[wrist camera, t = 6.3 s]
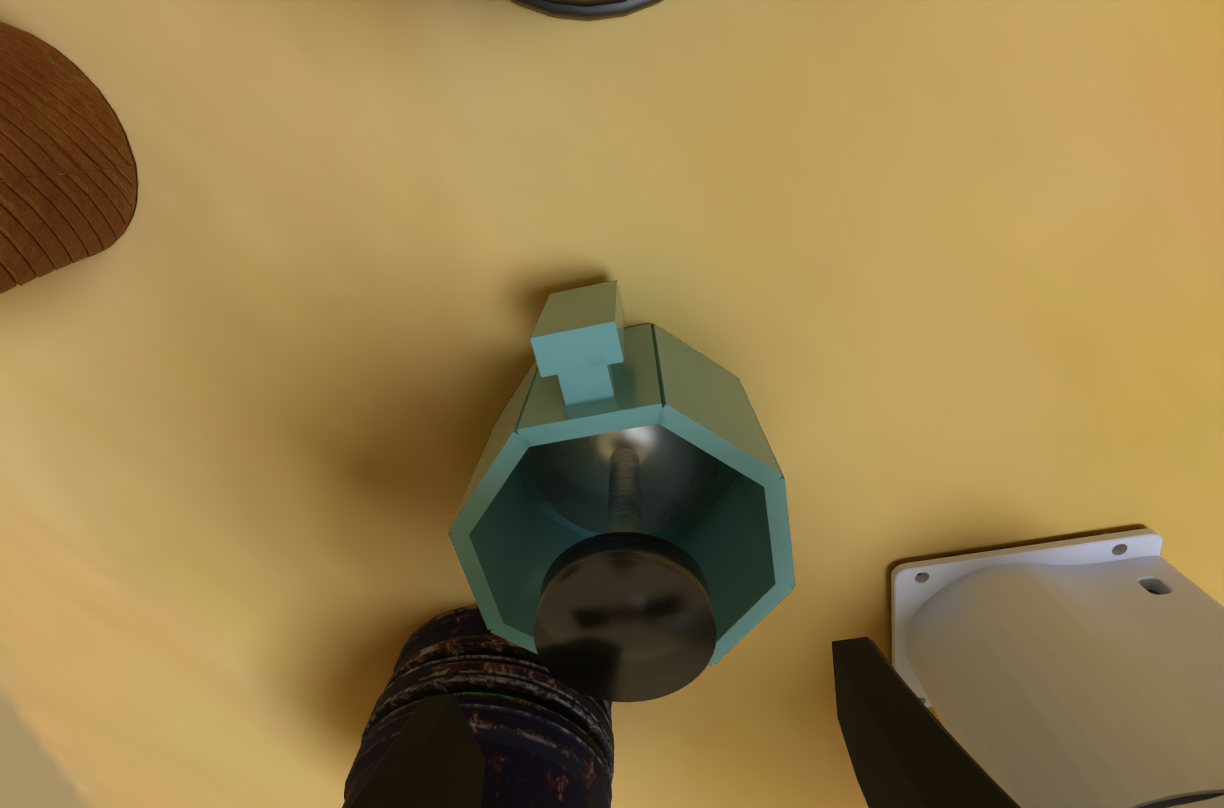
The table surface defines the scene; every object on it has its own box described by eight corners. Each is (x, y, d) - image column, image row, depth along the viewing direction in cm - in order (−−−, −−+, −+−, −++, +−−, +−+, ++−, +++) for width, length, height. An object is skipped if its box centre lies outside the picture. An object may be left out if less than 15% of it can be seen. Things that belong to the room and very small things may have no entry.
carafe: (723, 248, 17) (767, 302, 12) (757, 523, 22) (802, 653, 16) (455, 304, 18) (385, 377, 13) (539, 557, 23) (512, 691, 17)
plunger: (704, 350, 18) (756, 496, 11) (729, 514, 21) (784, 718, 14) (509, 388, 19) (438, 547, 12) (557, 541, 22) (523, 750, 14)
